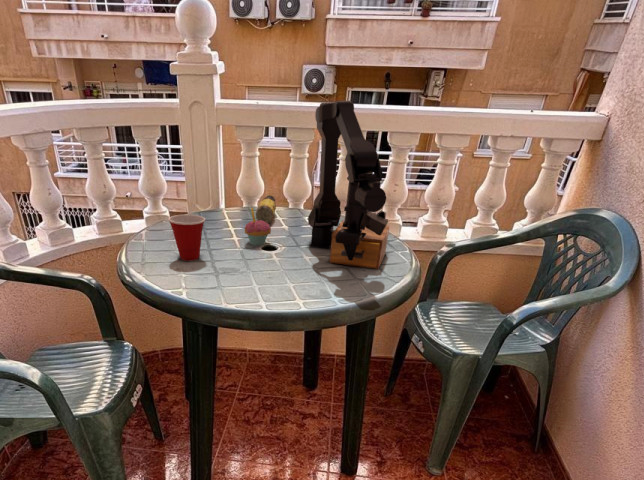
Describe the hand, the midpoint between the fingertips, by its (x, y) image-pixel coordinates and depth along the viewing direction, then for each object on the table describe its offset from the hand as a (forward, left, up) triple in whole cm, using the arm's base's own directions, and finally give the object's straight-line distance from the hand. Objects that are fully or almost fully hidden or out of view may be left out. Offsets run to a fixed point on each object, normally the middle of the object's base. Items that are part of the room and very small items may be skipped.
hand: (350, 260), depth 137 cm
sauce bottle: (-38, +33, -1) cm, 50 cm away
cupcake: (-33, +15, -4) cm, 37 cm away
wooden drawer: (0, +9, -3) cm, 10 cm away
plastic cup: (-48, -4, -4) cm, 49 cm away
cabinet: (0, +13, -4) cm, 14 cm away
